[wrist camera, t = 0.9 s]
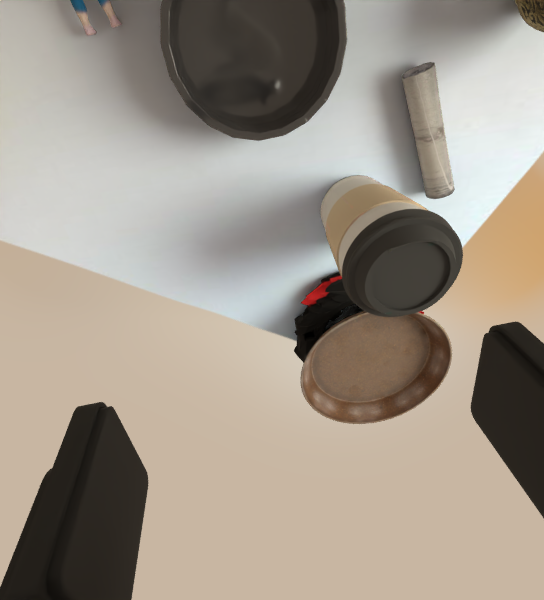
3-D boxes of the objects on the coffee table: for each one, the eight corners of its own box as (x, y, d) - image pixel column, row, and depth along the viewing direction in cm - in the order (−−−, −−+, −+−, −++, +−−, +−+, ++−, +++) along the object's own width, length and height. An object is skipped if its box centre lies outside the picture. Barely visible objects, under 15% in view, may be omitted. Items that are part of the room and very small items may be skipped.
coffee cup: (394, 240, 44) (466, 321, 31) (313, 254, 44) (352, 341, 31) (398, 156, 39) (484, 211, 26) (306, 171, 39) (349, 235, 26)
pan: (167, -87, 28) (159, -106, 24) (348, -48, 30) (367, -60, 26) (167, 119, 35) (161, 128, 31) (314, 138, 37) (325, 149, 33)
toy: (442, 317, 51) (454, 332, 48) (350, 391, 56) (356, 407, 53) (357, 239, 43) (365, 252, 41) (260, 332, 49) (263, 348, 46)
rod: (396, 75, 35) (408, 77, 33) (426, 60, 35) (441, 62, 32) (420, 194, 41) (432, 204, 39) (446, 183, 41) (459, 192, 39)
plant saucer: (457, 289, 44) (470, 305, 42) (426, 400, 54) (435, 418, 52) (298, 300, 43) (302, 316, 41) (296, 411, 53) (299, 430, 50)
